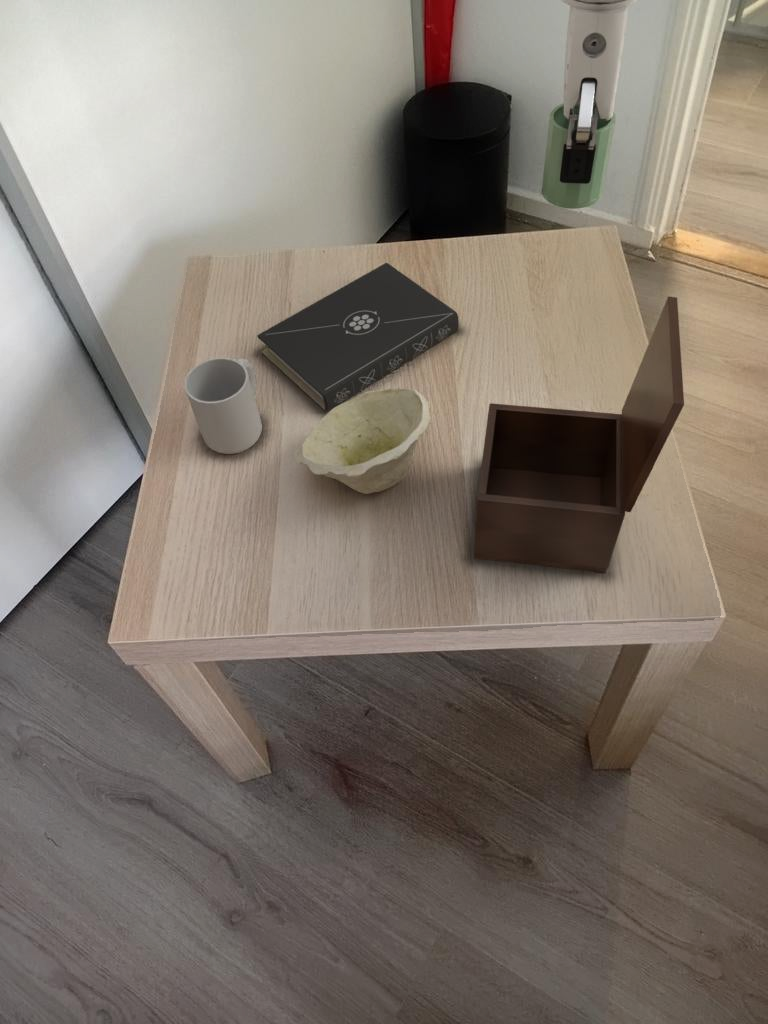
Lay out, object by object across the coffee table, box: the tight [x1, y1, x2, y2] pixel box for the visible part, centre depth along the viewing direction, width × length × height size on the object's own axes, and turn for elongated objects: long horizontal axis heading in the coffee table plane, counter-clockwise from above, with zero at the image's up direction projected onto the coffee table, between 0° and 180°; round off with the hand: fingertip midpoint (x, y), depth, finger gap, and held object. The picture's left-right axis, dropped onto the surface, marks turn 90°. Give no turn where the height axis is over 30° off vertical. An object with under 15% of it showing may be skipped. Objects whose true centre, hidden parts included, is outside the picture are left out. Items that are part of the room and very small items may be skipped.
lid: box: [621, 295, 685, 513], centre depth 69 cm, size 14×13×1 cm
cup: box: [183, 357, 263, 455], centre depth 92 cm, size 7×10×9 cm
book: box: [256, 262, 460, 413], centre depth 101 cm, size 22×15×3 cm
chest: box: [473, 402, 626, 574], centre depth 80 cm, size 14×13×10 cm
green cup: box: [541, 102, 616, 210], centre depth 84 cm, size 7×7×8 cm
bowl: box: [297, 387, 432, 495], centre depth 86 cm, size 15×14×10 cm
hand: (576, 161), depth 85 cm, fingers closed on green cup, 6 cm apart
